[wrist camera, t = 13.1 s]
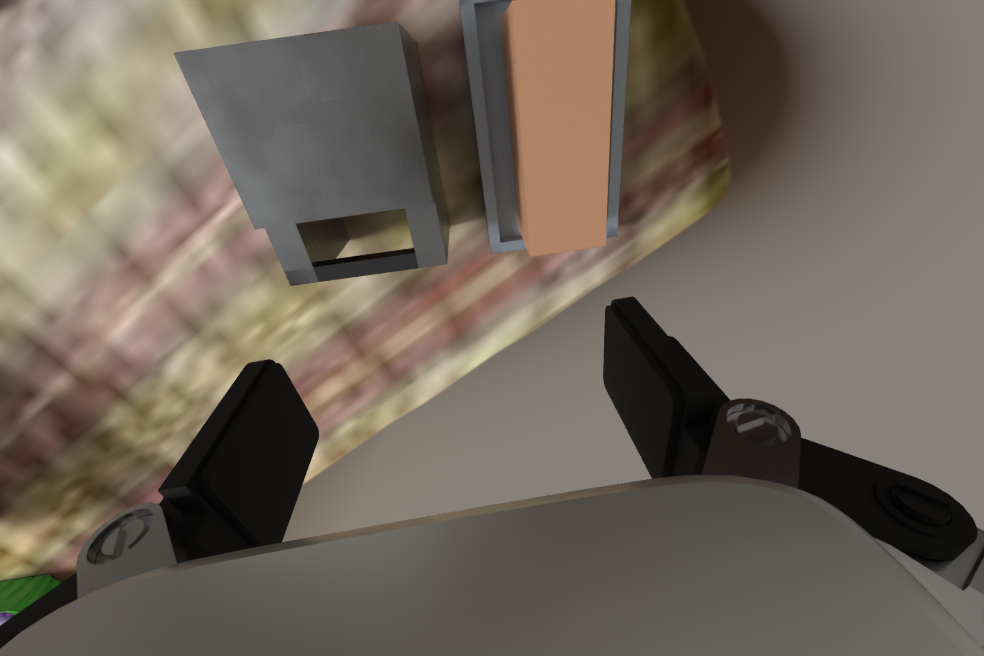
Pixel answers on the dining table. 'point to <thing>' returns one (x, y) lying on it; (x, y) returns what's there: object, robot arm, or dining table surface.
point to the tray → (486, 72)
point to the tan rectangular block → (559, 119)
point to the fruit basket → (22, 594)
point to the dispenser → (326, 143)
